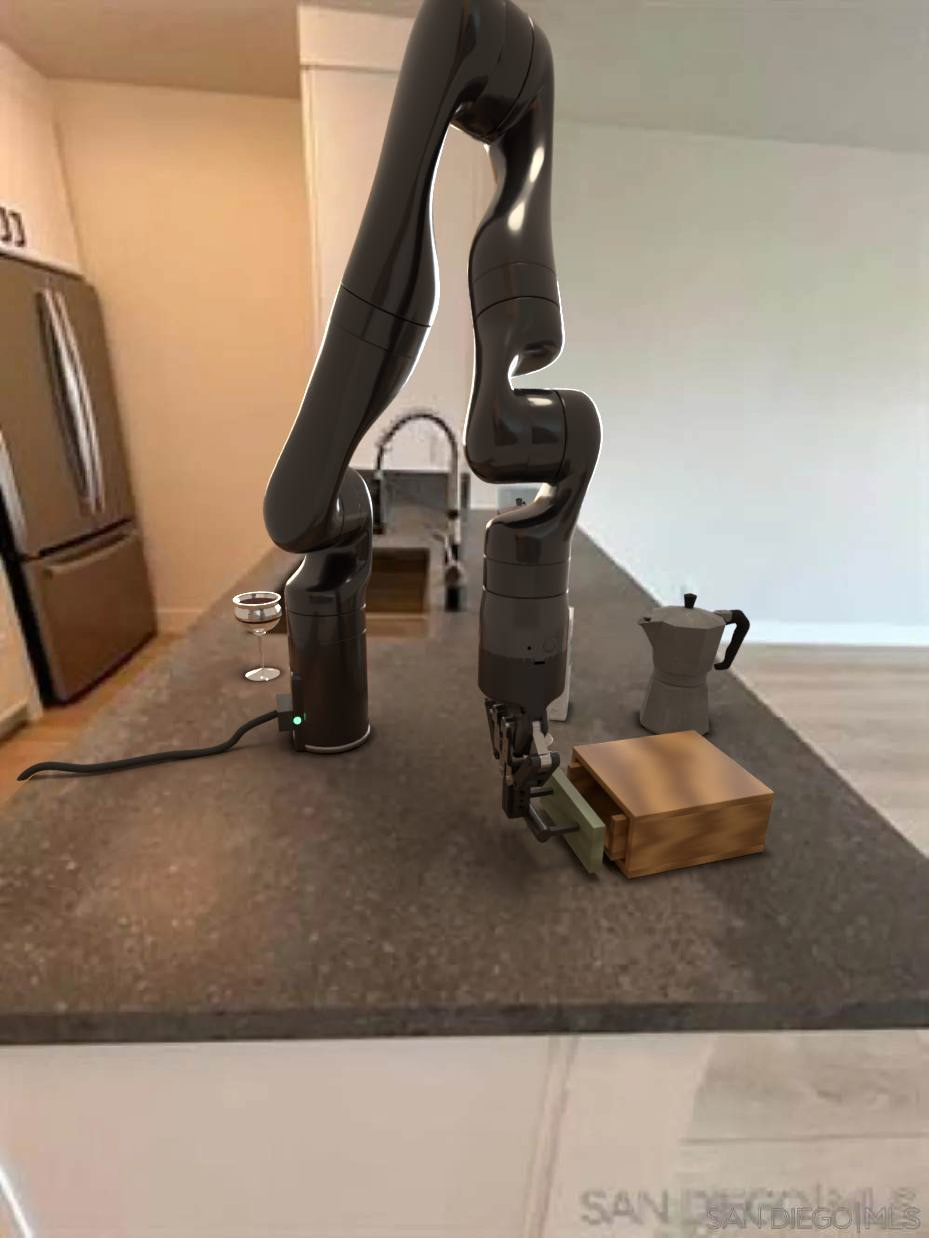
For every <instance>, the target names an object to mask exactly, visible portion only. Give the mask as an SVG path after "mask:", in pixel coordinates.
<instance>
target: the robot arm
mask: <svg viewBox="0 0 929 1238" xmlns="http://www.w3.org/2000/svg"><path fill="white" fill-rule="evenodd" d="M553 54H554V53H553V50H552V45H551V43H550V40H549V38H548V36H547V33H546V32H545V30H544V29H543V28H542V26H541V25H540V24H539V23H538V22H537V21H536V19H534V18H533V17H532V16H530V14H528V13H527V12H526V11H525V10H524V9H523V8H522V7H520V5H518V4H517V3H516V2H515V1H513V0H422V2H421V4H420V6H419V8H418V11H417V13H416V16H415V19H414V21H413V24H412V27H411V30H410V33H409V36H408V39H407V43H406V46H405V51H404V54H403V58H402V61H401V66H400V70H399V73H398V78H397V83H396V86H395V90H394V95H393V99H392V104H391V107H390V112H389V116H388V120H387V124H386V129H385V133H384V137H383V142H382V145H381V150H380V154H379V158H378V162H377V166H376V171H375V174H374V177H373V178H374V179H373V181H372V185H371V187H370V191H369V195H368V198H367V201H366V204H365V208H364V211H363V214H362V218H361V221H360V224H359V227H358V230H357V234H356V237H355V239H354V243H353V245H352V249H351V252H350V254H349V257H348V260H347V263H346V266H345V268H344V271H343V274H342V277H341V279H340V282H339V286H338V289H337V292H336V294H335V297H334V301H333V304H332V307H331V311H330V314H329V316H328V320H327V325H326V328H325V332H324V335H323V339H322V342H321V345H320V347H319V351H318V355H317V357H316V360H315V363H314V366H313V369H312V372H311V375H310V378H309V381H308V383H307V386H306V389H305V393H304V396H303V398H302V401H301V404H300V406H299V410H298V413H297V415H296V418H295V420H294V422H293V425H292V427H291V430H290V432H289V435H288V437H287V439H286V441H285V443H284V446H283V447H282V450H281V452H280V454H279V457H278V459H277V460H276V464H275V465H274V468H273V470H272V473H271V475H270V477H269V480H268V482H267V485H266V488H265V491H264V496H263V503H262V515H263V516H262V517H263V523H264V526H265V530H266V532H267V534H268V536H269V538H270V540H271V541H272V542H273V544H274V545H275V546H277V547H278V548H279V549H280V550H282V551H283V552H285V553H289V554H292V555H293V554H294V555H304V558H303V560H302V562H301V564H300V565H299V567H298V568H297V569H296V571H294V573H293V574H292V575H291V576H290V577H289V578H288V580H287V581H286V583H285V586H284V591H283V592H284V593H283V594H284V606H285V620H286V621H285V622H286V635H287V647H288V648H287V649H288V650H287V651H288V677H289V689H290V690H289V691H290V692H287V693H277V694H275V699H276V709H274V710H271V711H269V712H266V713H264V714H262V715H260V716H257V717H255V718H253V719H251V720H249V721H247V722H246V723H244V724H243V725H241V726H240V727H239V728H237V730H236V731H235V732H234V733H233V735H232V736H231V737H230V738H229V739H228V740H226V741H224V742H222V743H220V744H217V745H214V746H210V747H204V748H198V749H197V748H195V749H177V750H168V751H161V752H156V753H149V754H145V755H140V756H134V757H129V758H123V759H118V760H112V761H106V762H98V763H97V762H96V763H89V764H88V763H87V764H86V763H85V764H84V763H70V762H63V761H42V762H37V763H35V764H33V765H30V766H29V767H27V768H26V769H24V770H23V771H22V772H21V773H20V774H19V775H18V776H17V778H16V781H18V782H22V781H27V780H28V779H29V778H31V777H32V776H34V774H37V773H40V772H44V771H56V772H57V771H58V772H66V773H68V772H69V773H77V774H89V773H90V774H92V773H98V772H107V771H114V770H118V769H124V768H130V767H134V766H135V767H136V766H140V765H145V764H150V763H156V762H161V761H167V760H176V759H189V758H191V759H192V758H199V757H206V756H213V755H216V754H220V753H223V752H225V751H228V750H230V749H231V748H233V747H234V746H235V745H236V744H237V743H238V742H239V741H240V740H241V738H242V737H243V736H244V735H245V734H246V733H248V732H249V731H251V730H252V729H254V728H256V727H258V726H261V725H263V724H264V723H267V722H270V721H272V720H274V719H277V726H278V733H285V732H292V736H293V737H292V739H293V742H294V748H295V751H296V752H302V751H307V752H311V753H316V754H335V753H336V754H337V753H343V752H347V751H349V750H352V749H355V748H357V747H360V746H361V745H362V744H364V743H365V742H366V741H367V740H368V739H369V737H370V734H371V725H370V714H369V681H368V680H369V678H368V677H369V675H368V645H367V643H368V642H367V607H366V606H367V605H366V591H367V588H368V586H369V583H370V580H371V577H372V570H373V542H374V541H373V537H374V536H373V535H374V534H373V533H374V532H373V531H374V513H373V512H374V511H373V503H372V497H371V494H370V493H371V492H370V490H369V488H368V486H367V483H366V482H365V480H364V478H363V477H362V475H361V474H360V473H359V472H358V471H357V470H355V469H354V468H352V467H351V466H350V463H351V461H352V459H353V456H354V454H355V452H356V450H357V448H358V447H359V445H360V443H361V441H362V440H363V439H364V437H365V436H366V434H367V433H368V431H369V430H370V429H371V428H372V427H373V425H374V424H375V423H376V422H377V421H378V419H379V418H380V417H381V416H382V414H383V413H384V412H385V411H386V410H387V409H388V407H389V406H390V405H391V404H392V402H393V401H394V400H395V399H396V397H398V395H399V394H400V393H401V391H402V389H403V388H404V387H405V385H406V384H407V383H408V381H409V380H410V378H411V376H412V374H413V373H414V371H415V368H416V367H417V364H418V362H419V361H420V358H421V355H422V353H423V350H424V348H425V346H426V343H427V340H428V337H429V334H430V332H431V329H432V325H434V322H435V319H436V316H437V313H438V310H439V305H440V292H441V290H440V289H441V288H440V269H439V258H438V249H437V242H436V232H435V223H434V220H435V219H434V193H435V183H436V180H437V179H436V178H437V173H438V168H439V165H440V161H441V156H442V152H443V148H444V144H445V142H446V138H447V136H448V132H449V129H450V128H451V127H452V128H454V129H456V130H457V131H458V132H460V133H462V134H464V135H465V136H466V137H468V138H470V139H471V140H474V141H476V142H478V143H480V144H481V145H482V146H483V148H484V150H485V153H486V156H487V160H488V163H489V166H490V167H489V168H490V171H491V172H490V173H491V177H492V183H493V187H492V195H491V199H490V200H489V203H488V204H487V207H486V208H485V211H484V213H483V215H482V217H481V218H480V220H479V223H478V224H477V227H476V228H475V230H474V234H473V237H472V239H471V242H470V246H469V250H468V256H467V269H466V270H467V271H466V283H467V293H468V300H469V301H468V303H469V310H470V317H471V318H470V319H471V326H472V333H473V365H472V366H473V367H472V376H471V377H472V378H471V386H470V392H469V399H468V402H467V403H468V404H467V409H466V413H465V419H464V424H463V432H462V451H463V457H464V459H465V462H466V464H467V466H468V468H469V469H470V470H471V472H472V473H473V475H475V477H477V479H479V480H480V481H482V482H483V483H486V484H490V485H516V484H520V485H521V484H524V485H525V484H541V485H540V486H539V489H538V491H537V493H536V495H535V497H534V498H533V500H532V501H531V502H530V503H529V504H526V505H527V506H525V507H523V508H520V509H517V510H514V511H510V512H507V513H503V514H501V515H498V516H497V515H495V516H494V517H492V518H491V519H490V520H489V521H487V523H486V525H485V529H484V534H483V567H482V575H483V576H482V593H481V597H480V598H481V599H480V605H479V613H478V614H479V615H478V649H477V651H478V653H477V657H478V658H477V659H478V660H477V686H478V688H479V690H480V692H481V693H482V694H483V695H484V696H486V697H484V703H483V704H484V707H485V712H486V718H487V724H488V730H489V734H490V735H489V736H490V741H491V746H492V754H493V756H494V759H495V761H497V760H499V767H498V769H499V773H500V775H501V776H502V788H501V789H502V790H501V809H502V811H503V812H504V814H505V815H506V817H507V818H508V819H509V820H514V819H518V818H519V819H520V818H523V817H525V816H527V815H528V814H529V811H530V802H531V798H530V792H531V790H532V788H541V787H542V786H543V785H544V784H545V783H546V782H547V780H548V779H549V778H550V777H551V775H552V774H553V773H554V771H555V770H556V769H557V768H558V767H559V766H560V765H561V757H560V754H559V752H558V751H557V750H554V751H552V752H551V751H548V748H547V745H546V741H545V736H546V735H547V733H548V734H549V726H550V725H549V724H550V720H549V719H548V715H547V710H546V709H547V707H548V706H549V704H550V703H552V702H553V701H554V700H555V699H557V698H559V697H560V696H561V695H562V693H563V692H564V689H565V679H566V664H567V649H568V634H569V617H570V613H569V606H570V601H569V600H570V599H569V587H570V586H569V585H570V571H571V554H572V552H571V551H572V542H573V539H574V534H575V531H576V527H577V524H578V521H579V518H580V514H581V512H582V508H583V505H584V501H585V498H586V496H587V493H588V490H589V487H590V484H591V482H592V480H593V478H594V477H593V476H594V474H595V471H596V468H597V465H598V462H599V458H600V455H601V450H602V446H603V433H604V432H603V424H602V419H601V418H602V417H601V414H600V412H599V410H598V406H597V405H596V404H595V402H594V400H593V399H592V398H591V397H590V396H589V395H588V394H587V393H586V392H584V391H582V390H580V389H579V390H578V389H573V388H517V387H513V386H512V380H511V379H515V378H518V377H522V376H526V375H530V374H533V373H537V372H540V371H541V370H544V369H546V368H547V367H549V366H551V365H552V364H553V363H555V362H556V361H557V360H558V359H559V357H560V356H561V354H562V352H563V349H564V346H565V326H564V318H563V311H562V304H561V296H560V287H559V282H558V281H559V280H558V274H557V268H556V260H555V250H554V241H553V225H552V223H553V221H552V220H553V219H552V193H553V192H552V190H553V169H554V168H553V167H554V162H553V161H554V128H555V127H554V125H555V98H556V96H555V95H556V84H555V83H556V82H555V81H556V80H555V78H556V76H555V62H554V55H553ZM450 126H451V127H450Z"/></svg>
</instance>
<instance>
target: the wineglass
mask: <svg viewBox="0 0 929 1238" xmlns="http://www.w3.org/2000/svg"><path fill="white" fill-rule="evenodd" d="M280 599H281V595H280V594H278V593H275V592H271V591H253V592H252V591H251V592H246V593H242V594H239V595H236V596H234V598H232V601H233V603H234V605H235V606H234V608H233V616H234V619H235V622H236V624H237V625H238V626H240V627H241V628H243V629H244V630H245V631H247V632H250V633H253V634H254V635H255V636H256V638H257V645H258V653H259V661H260V667H258V668H254V669H251V670H249V671H248V672H247V673H246V674H245V677H246V678H247V679H248V680H251V681H255V682H256V681H258V682H262V681H269V680H273V679H275V678H277V677H279V676H280V675H281V672H280V670H279V669H277V668H275V667H265V662H264V659H265V658H264V635H265V634H266V632H268V631H270V630H272V629H273V628H274V627H276V625H278V623H279V622H280V621H281V618H282V616H283V610H282V606H281V604H280V603H279V601H280Z"/></svg>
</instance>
